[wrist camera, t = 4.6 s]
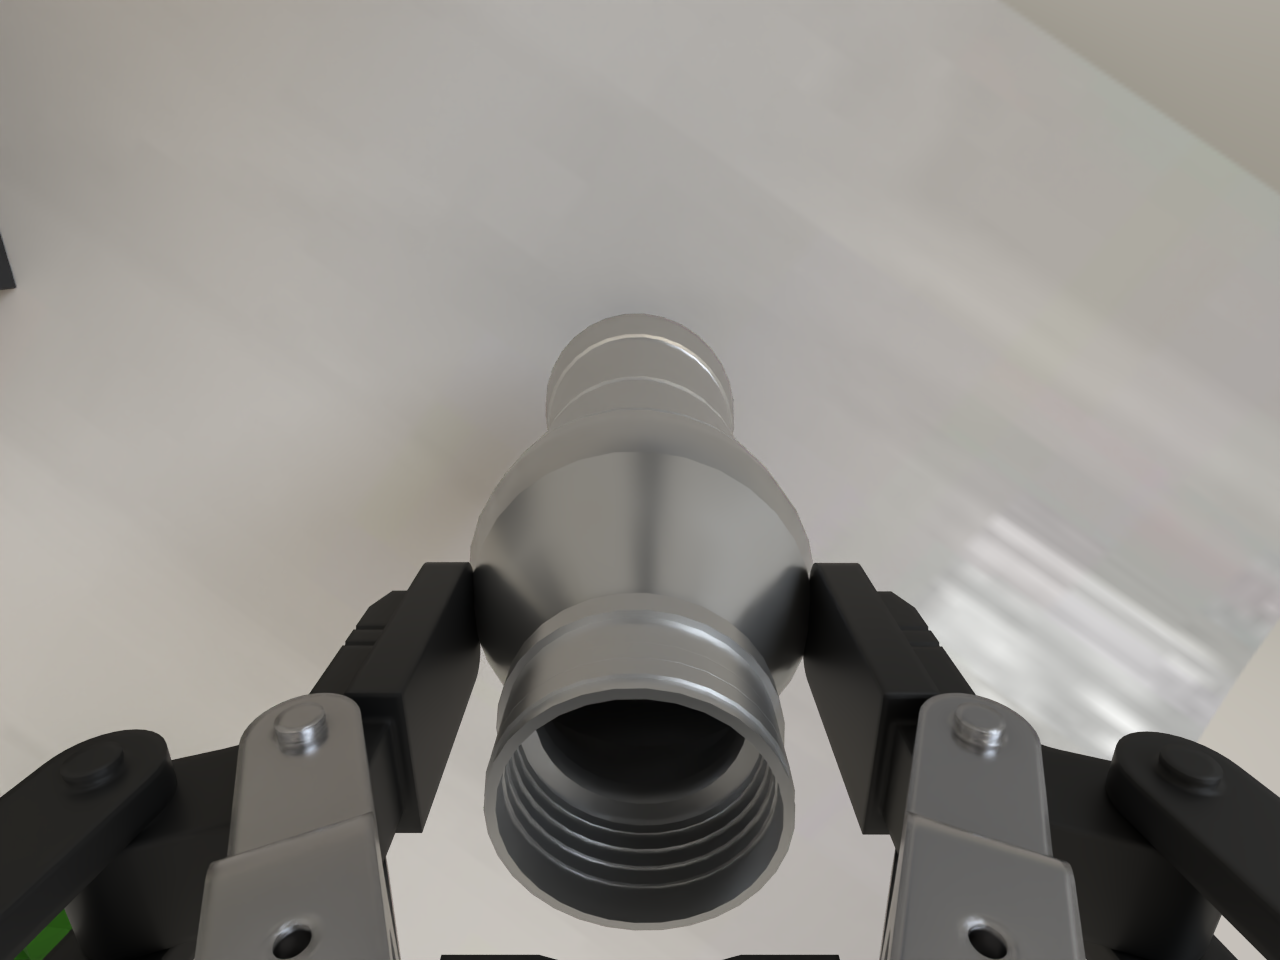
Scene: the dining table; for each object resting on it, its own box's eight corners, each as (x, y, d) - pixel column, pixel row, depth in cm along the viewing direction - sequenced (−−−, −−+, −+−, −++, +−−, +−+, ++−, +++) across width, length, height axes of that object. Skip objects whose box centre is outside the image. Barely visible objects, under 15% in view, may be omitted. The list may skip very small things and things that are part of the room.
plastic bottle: (670, 269, 25) (756, 434, 6) (756, 425, 27) (1012, 899, 8) (520, 359, 26) (219, 725, 7) (614, 503, 28) (561, 1070, 10)
